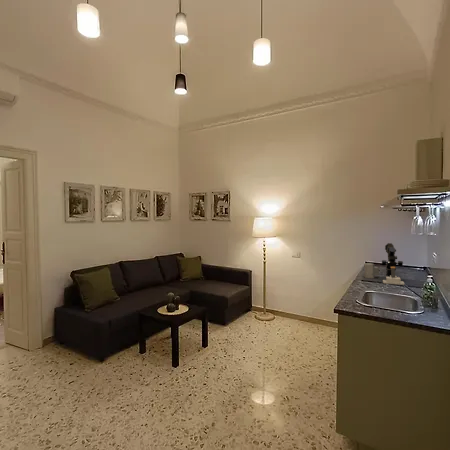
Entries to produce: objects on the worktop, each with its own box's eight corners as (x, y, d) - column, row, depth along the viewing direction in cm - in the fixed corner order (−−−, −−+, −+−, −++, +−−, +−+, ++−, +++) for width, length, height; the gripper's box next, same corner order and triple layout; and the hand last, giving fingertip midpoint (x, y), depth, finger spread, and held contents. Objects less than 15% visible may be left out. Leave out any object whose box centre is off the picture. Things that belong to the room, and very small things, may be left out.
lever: (390, 276, 291) (390, 267, 295) (395, 277, 289) (394, 267, 293) (391, 276, 289) (390, 266, 293) (395, 276, 288) (395, 266, 292)
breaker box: (382, 281, 298) (382, 274, 297) (403, 282, 290) (403, 275, 290) (383, 283, 289) (383, 276, 288) (404, 285, 281) (404, 277, 281)
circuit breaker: (380, 278, 308) (380, 264, 308) (366, 278, 311) (366, 264, 310) (378, 276, 316) (378, 263, 315) (364, 276, 319) (364, 263, 318)
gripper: (382, 252, 304) (382, 264, 294) (402, 253, 296) (403, 266, 286) (381, 258, 311) (382, 270, 302) (401, 259, 303) (402, 272, 294)
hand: (392, 269), depth 296 cm, fingers closed
